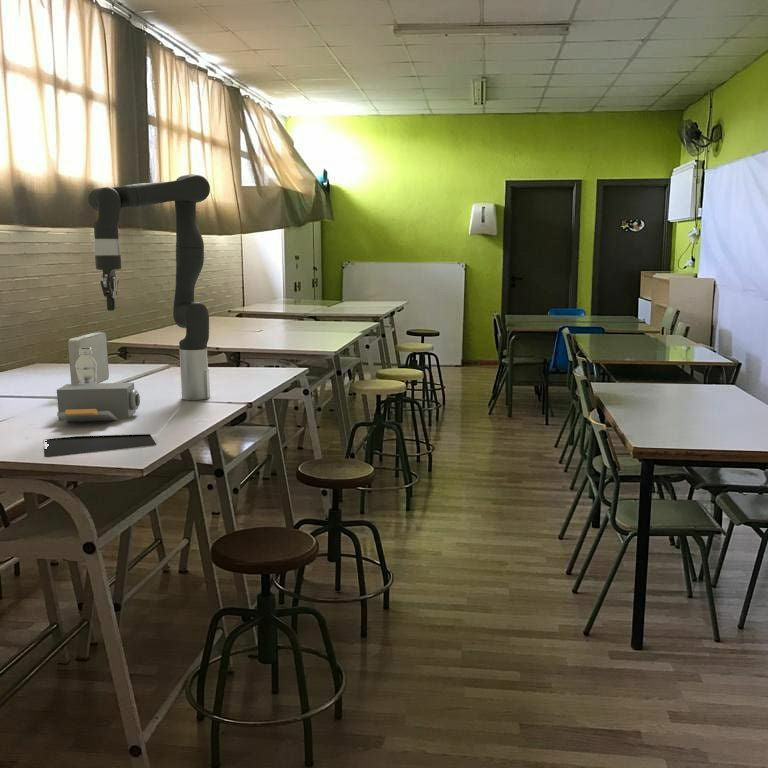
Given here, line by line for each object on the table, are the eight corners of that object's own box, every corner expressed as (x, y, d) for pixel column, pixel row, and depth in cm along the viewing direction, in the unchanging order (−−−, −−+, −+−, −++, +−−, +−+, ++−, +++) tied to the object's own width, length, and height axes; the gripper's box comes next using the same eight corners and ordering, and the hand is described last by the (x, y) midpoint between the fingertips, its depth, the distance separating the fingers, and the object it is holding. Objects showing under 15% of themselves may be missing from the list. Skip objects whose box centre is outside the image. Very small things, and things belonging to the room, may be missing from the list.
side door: (117, 417, 224) (106, 408, 211) (117, 421, 224) (106, 412, 211) (68, 418, 222) (54, 409, 210) (68, 422, 222) (54, 414, 209)
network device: (88, 395, 266) (84, 339, 263) (64, 395, 267) (60, 339, 263) (115, 383, 292) (111, 332, 288) (92, 383, 292) (89, 332, 288)
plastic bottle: (93, 412, 237) (89, 349, 234) (74, 412, 239) (69, 349, 235) (104, 408, 243) (100, 347, 240) (86, 408, 245) (81, 346, 241)
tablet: (147, 428, 214) (157, 444, 196) (147, 431, 214) (157, 447, 196) (43, 439, 203) (44, 457, 185) (43, 442, 203) (44, 460, 185)
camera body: (142, 414, 235) (141, 382, 233) (136, 421, 225) (134, 388, 224) (69, 416, 233) (66, 384, 231) (59, 423, 223) (56, 389, 221)
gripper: (115, 254, 227) (119, 311, 230) (125, 254, 240) (128, 308, 242) (89, 254, 226) (93, 312, 229) (100, 254, 239) (104, 309, 242)
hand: (111, 310), depth 236 cm, fingers closed
